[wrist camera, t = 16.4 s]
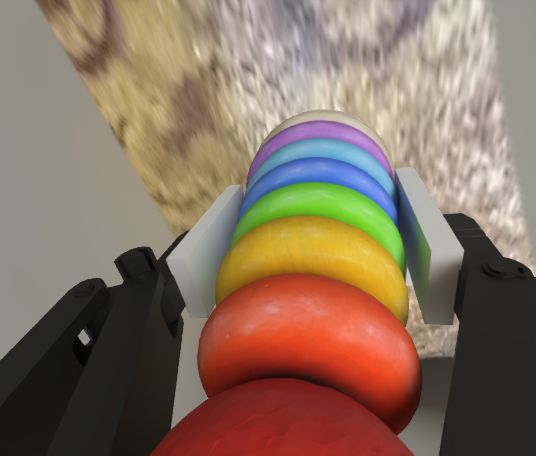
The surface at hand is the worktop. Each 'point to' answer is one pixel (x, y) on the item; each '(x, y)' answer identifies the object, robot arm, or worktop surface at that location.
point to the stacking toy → (309, 306)
